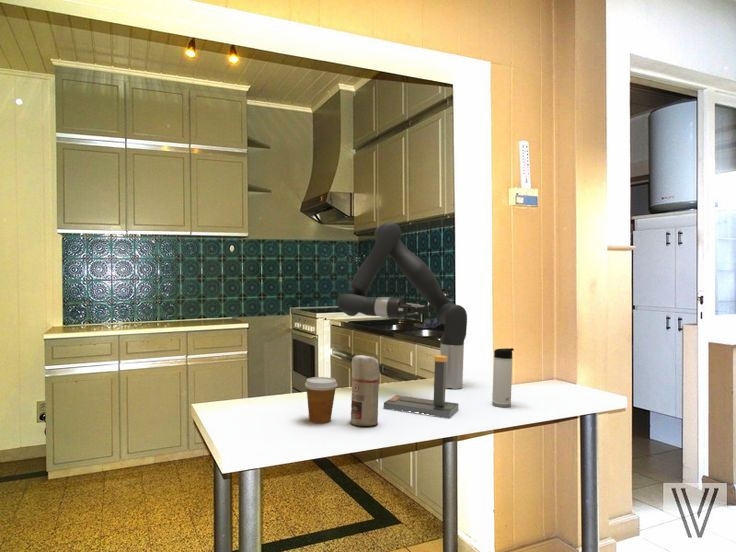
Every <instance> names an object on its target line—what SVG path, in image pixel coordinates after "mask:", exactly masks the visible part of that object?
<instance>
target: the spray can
mask: <svg viewBox="0 0 736 552" xmlns="http://www.w3.org/2000/svg"><path fill="white" fill-rule="evenodd" d="M351 367H352V368H351V369H352V371H351V401H350V403H351V404H350V407H351V410H350V421H349V423H350V424H351V425H355V426H359V427H370V426H371V427H372V426H374V425H375V426H376V425H378V424H379V422H378V418H379V385H380V363H379V361H378V359H376V358H375V357H373V356H368V355H365V354H364V355H363V354H358V355H354V356H352V360H351Z"/></svg>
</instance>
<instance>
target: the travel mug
mask: <svg viewBox="0 0 736 552" xmlns="http://www.w3.org/2000/svg"><path fill="white" fill-rule="evenodd" d="M513 352H514V348H512V347H510V348H507V347H506V348H497V349H494V351H493V368H492V369H493V370H492V373H493V374H492V401H491V404H492V406H494V407H497V408H503V409H504V408H506V409H507V408H510V407H511V406H512V404H511V403H512V384H513V383H512V381H513V379H512V378H513Z"/></svg>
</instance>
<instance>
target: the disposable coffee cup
mask: <svg viewBox="0 0 736 552" xmlns="http://www.w3.org/2000/svg"><path fill="white" fill-rule="evenodd" d="M304 386H305V389H306V397H307V398H306V399H307V409H308V418H309V419H308V421H309V422H310V423H314V424H326V423H327V424H328V423H330V422H331V420H332V419H331V418H332V413H333V408H334V407H333V406H334V400H335V394H336V388H337V387H338V383H337V380H336V379H335V378H333V377H328V376H327V377H326V376H325V377H324V376H314V377H309V378H307V379H306V382H305V383H304Z"/></svg>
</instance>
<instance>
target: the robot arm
mask: <svg viewBox="0 0 736 552" xmlns="http://www.w3.org/2000/svg"><path fill="white" fill-rule="evenodd" d="M401 237H402V230H401V227H400V226H399V224H397V223H396V222H392V221H391V222H390V221H387V222H384V223H381V224H380V225H379V226H377V227H376V229H375V230H374V240H375V244H374V245H373V248H372V249H371V251H370V253H369V254H368V256H367V257H366V259H365V260H364V261H363V262H362V264H361V266H360V267H359V268H358V270H357V272H356V273H355V275H354V276H353V279H352V281H351V283H350V288H351V291H350V293H345V294H342V295H340V296H339V297H338V298H337V302H336V303H337V308H338V309H339V311H341V312H342V313H344V314H345V315H347V316H349V317H355V316H357V315H358V314H359V313H360V314H362V315H364V316H370V317H379V318H386V319H390V318H391V319H402V318H403V317H404V314H405V315H417V314H420V315H421V314H424V315H427V314H429V313H432V314H433V313H435V314H436V316H437V317H438V319H439V320H440V322H441V323H442V324H444V331H443V334H442V336H441V337H440V352H439V355H440V356H447V361H446V387H445V389H447V388H452V389H451V390H459V388H460V389H462V388H463V379H464V349H465V347H464V346H465V340H466V337H467V326H468V314H467V313H468V312H467V311H466V309H465V308H464V307H463V306H462V305H459V304H455V303H453V302H452V301H451V300H450V299H449V298H448V297H447V296H446V294H445V293H444V292H443V290H442V289H441V286H440V284H439V282H438V280H437V278H436V276H435V274H434V273H433V271H432V270H431V269H430V267H428V265H427V264H426V263H425V262H424V261H423V259H421V258H420V257H419V256H418V255H416V254H414V253H413V252H412V251H410V250H409V248H408V247H406V246H405V244H404V243H403V241H402V240H401ZM388 256H390V258H392V260H393V261H394V262H395V263H396V265H397V266H398V269H400V271H401V272H402V273H403V275H404V276H405V277H406V278H407V280H408V281H409V282H410V284H411V285H412V286H413V287H414V288H415V289H416V290H417V292H418V293H419V294H420V295H421V296H422V297H423V298H424V299H425V300H426V301H427V303H428V304H429V305H425V304H419V303H412V302H406V303H405V301H404V299H403V298H402V297H388V296H383V297H382V296H381V297H380V296H378V297H376V296H367V294H368V291H369V289H370V287H371V286H372V283H374V282H373V281H374V280H375V278H376V276H377V275H378V272H379V271H380V269H381V267H382V265H383V264H384V262H385V261H386V258H387V257H388Z"/></svg>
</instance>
